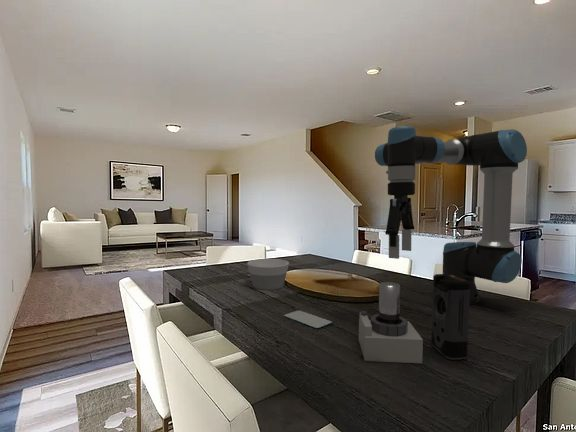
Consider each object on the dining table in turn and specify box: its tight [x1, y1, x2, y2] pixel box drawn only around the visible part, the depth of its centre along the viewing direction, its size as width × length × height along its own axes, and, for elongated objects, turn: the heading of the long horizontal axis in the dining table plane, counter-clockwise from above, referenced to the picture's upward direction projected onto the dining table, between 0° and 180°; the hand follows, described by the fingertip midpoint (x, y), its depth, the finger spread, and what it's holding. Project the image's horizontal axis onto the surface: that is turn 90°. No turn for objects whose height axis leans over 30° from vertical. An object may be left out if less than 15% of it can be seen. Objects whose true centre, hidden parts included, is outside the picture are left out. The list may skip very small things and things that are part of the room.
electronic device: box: [430, 273, 470, 361], centre depth 88 cm, size 9×6×20 cm, turn 5°
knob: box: [378, 281, 401, 325], centre depth 88 cm, size 5×5×12 cm
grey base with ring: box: [358, 310, 424, 364], centre depth 89 cm, size 14×12×9 cm
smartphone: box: [283, 310, 333, 331], centre depth 111 cm, size 8×1×16 cm
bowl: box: [246, 258, 290, 291], centre depth 152 cm, size 19×19×11 cm
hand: (400, 254), depth 98 cm, fingers open, 13 cm apart
